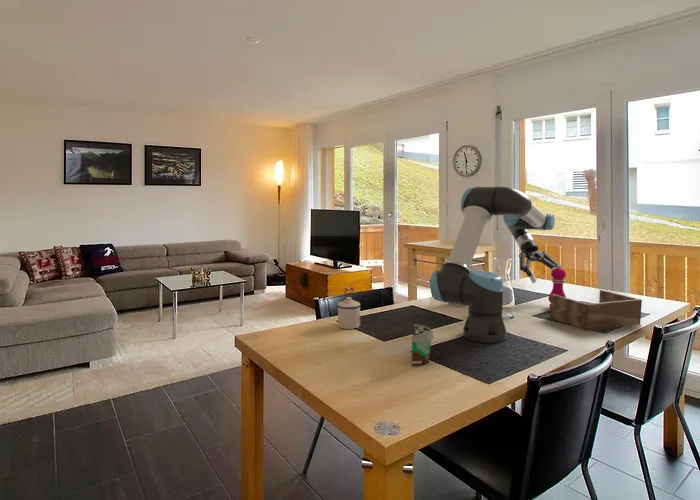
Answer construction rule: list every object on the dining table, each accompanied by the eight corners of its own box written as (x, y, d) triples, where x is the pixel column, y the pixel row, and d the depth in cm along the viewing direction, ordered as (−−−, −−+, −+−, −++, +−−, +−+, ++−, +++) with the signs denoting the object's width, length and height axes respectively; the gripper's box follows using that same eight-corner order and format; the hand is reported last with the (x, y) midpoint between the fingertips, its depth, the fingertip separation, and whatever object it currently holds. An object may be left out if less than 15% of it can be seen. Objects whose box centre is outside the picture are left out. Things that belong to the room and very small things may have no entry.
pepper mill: (566, 308, 199) (569, 264, 197) (564, 311, 193) (566, 266, 191) (549, 306, 203) (551, 263, 201) (546, 309, 197) (548, 265, 195)
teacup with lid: (364, 328, 172) (363, 299, 170) (341, 330, 169) (341, 301, 168) (353, 320, 183) (353, 292, 182) (332, 322, 180) (332, 294, 179)
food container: (432, 369, 131) (432, 336, 129) (411, 368, 132) (411, 335, 131) (433, 354, 143) (433, 324, 141) (413, 353, 144) (414, 323, 143)
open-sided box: (550, 317, 184) (551, 294, 183) (600, 312, 191) (601, 289, 190) (586, 330, 166) (587, 304, 165) (640, 324, 173) (641, 299, 172)
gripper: (544, 248, 223) (565, 283, 210) (501, 250, 216) (520, 287, 204) (552, 239, 217) (574, 274, 205) (508, 241, 211) (528, 277, 198)
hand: (547, 280), depth 204 cm, fingers open, 13 cm apart
